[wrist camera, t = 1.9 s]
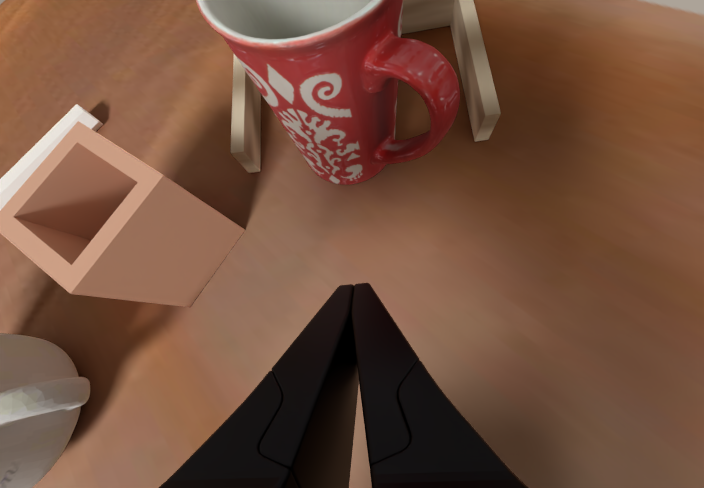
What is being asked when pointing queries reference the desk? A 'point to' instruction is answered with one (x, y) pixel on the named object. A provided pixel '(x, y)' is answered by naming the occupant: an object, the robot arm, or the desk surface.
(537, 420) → the desk surface
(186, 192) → the terracotta pot
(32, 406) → the teacup
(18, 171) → the marker
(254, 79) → the mug
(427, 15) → the bay
